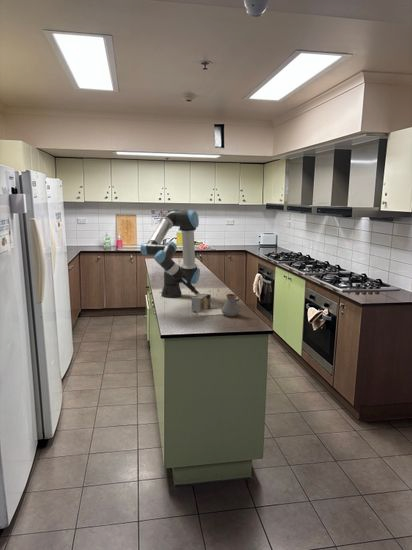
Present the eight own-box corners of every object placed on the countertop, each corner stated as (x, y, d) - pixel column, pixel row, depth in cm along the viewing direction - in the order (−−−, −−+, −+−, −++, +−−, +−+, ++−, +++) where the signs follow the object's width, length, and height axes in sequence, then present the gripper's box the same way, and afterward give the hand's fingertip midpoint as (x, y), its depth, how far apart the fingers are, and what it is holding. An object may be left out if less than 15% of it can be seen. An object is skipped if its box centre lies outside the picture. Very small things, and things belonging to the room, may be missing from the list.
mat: (195, 310, 258) (195, 310, 258) (221, 309, 264) (221, 308, 264) (201, 316, 247) (201, 315, 247) (228, 314, 253) (228, 313, 253)
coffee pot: (219, 312, 255) (220, 289, 251) (236, 311, 258) (237, 289, 254) (228, 323, 235) (230, 299, 231) (246, 323, 238) (248, 299, 234)
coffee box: (200, 298, 252) (210, 293, 266) (191, 297, 255) (202, 293, 269) (200, 312, 253) (210, 307, 268) (191, 311, 256) (202, 306, 270)
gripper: (168, 273, 248) (193, 298, 256) (173, 277, 236) (199, 303, 244) (176, 265, 249) (201, 290, 257) (182, 268, 237) (207, 294, 245)
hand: (200, 296), depth 251 cm, fingers closed
